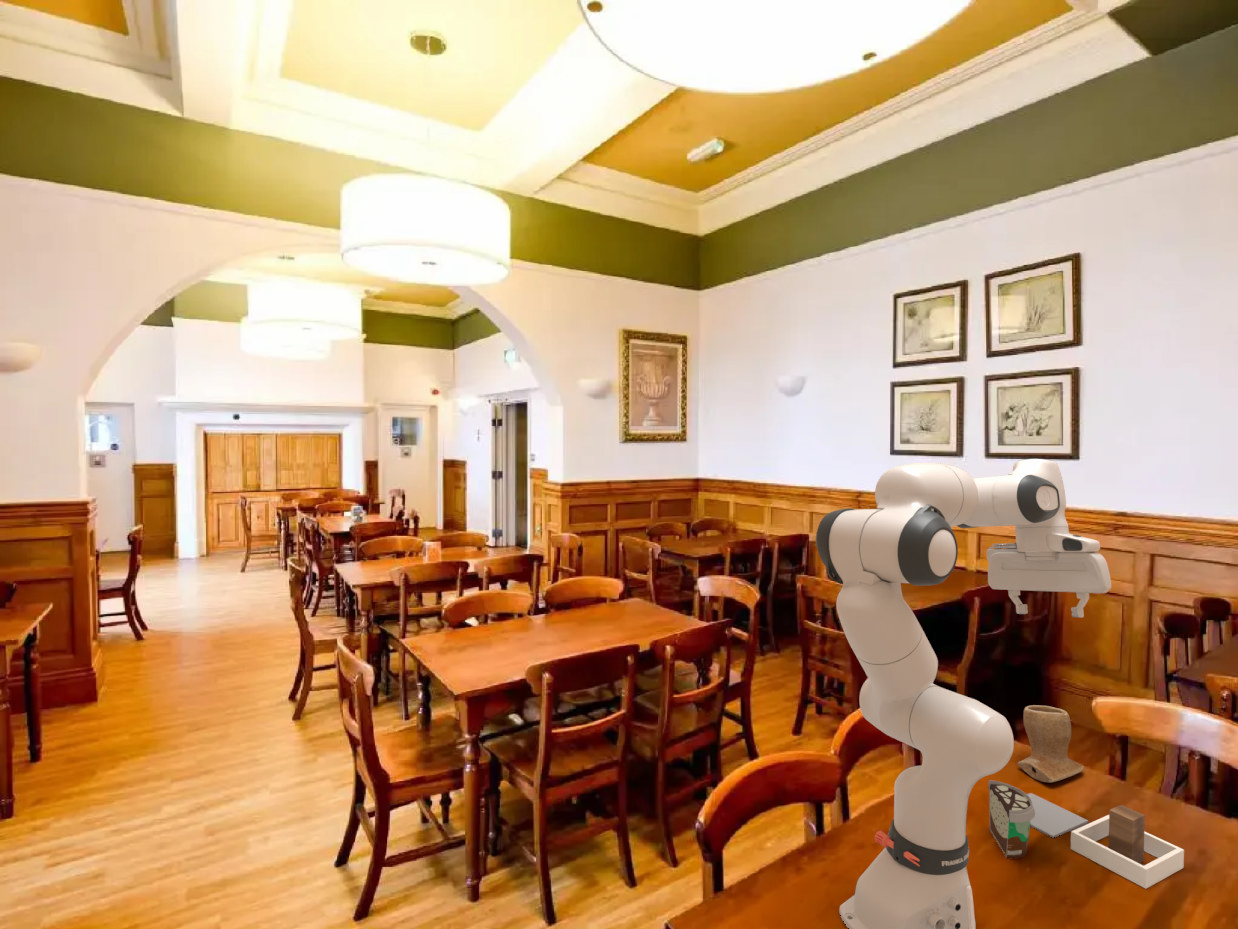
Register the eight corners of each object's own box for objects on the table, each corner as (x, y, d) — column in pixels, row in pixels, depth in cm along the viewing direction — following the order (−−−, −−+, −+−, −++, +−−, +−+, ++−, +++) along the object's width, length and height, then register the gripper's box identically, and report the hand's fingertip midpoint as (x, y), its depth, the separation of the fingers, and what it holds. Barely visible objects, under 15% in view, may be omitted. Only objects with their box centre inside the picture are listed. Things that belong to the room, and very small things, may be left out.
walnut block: (1131, 867, 124) (1133, 820, 124) (1108, 855, 128) (1109, 810, 128) (1143, 861, 126) (1144, 815, 126) (1120, 849, 130) (1121, 804, 129)
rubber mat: (1053, 838, 133) (1053, 836, 133) (996, 808, 144) (996, 806, 144) (1088, 822, 139) (1088, 820, 139) (1030, 795, 150) (1030, 792, 150)
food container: (1045, 867, 125) (1046, 815, 124) (1009, 863, 126) (1010, 811, 125) (1019, 829, 137) (1020, 781, 136) (987, 825, 138) (988, 778, 138)
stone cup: (1041, 753, 169) (1042, 695, 168) (1091, 775, 158) (1093, 713, 157) (1002, 767, 162) (1003, 706, 162) (1052, 790, 152) (1053, 726, 151)
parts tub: (1145, 888, 119) (1146, 869, 118) (1070, 849, 130) (1071, 831, 130) (1183, 868, 124) (1184, 849, 124) (1108, 831, 136) (1108, 814, 136)
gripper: (979, 543, 135) (985, 613, 133) (1099, 542, 119) (1107, 620, 117) (992, 543, 139) (997, 610, 137) (1109, 541, 123) (1117, 618, 121)
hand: (1049, 615), depth 127 cm, fingers open, 8 cm apart
